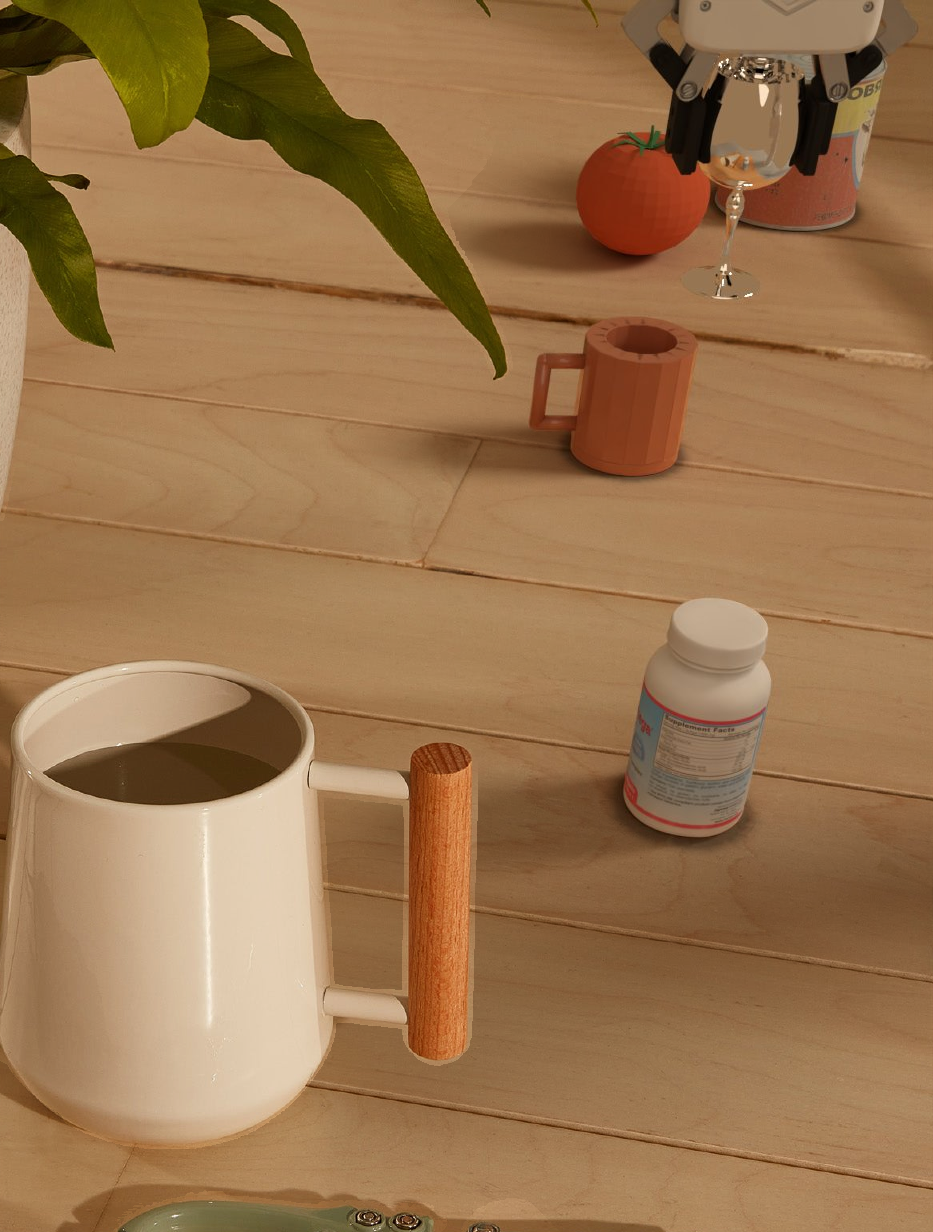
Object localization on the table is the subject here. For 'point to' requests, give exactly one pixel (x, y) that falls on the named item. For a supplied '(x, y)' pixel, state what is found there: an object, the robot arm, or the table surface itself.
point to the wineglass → (746, 150)
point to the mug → (623, 394)
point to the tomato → (639, 195)
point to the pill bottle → (700, 720)
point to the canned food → (818, 166)
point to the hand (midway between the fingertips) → (742, 163)
